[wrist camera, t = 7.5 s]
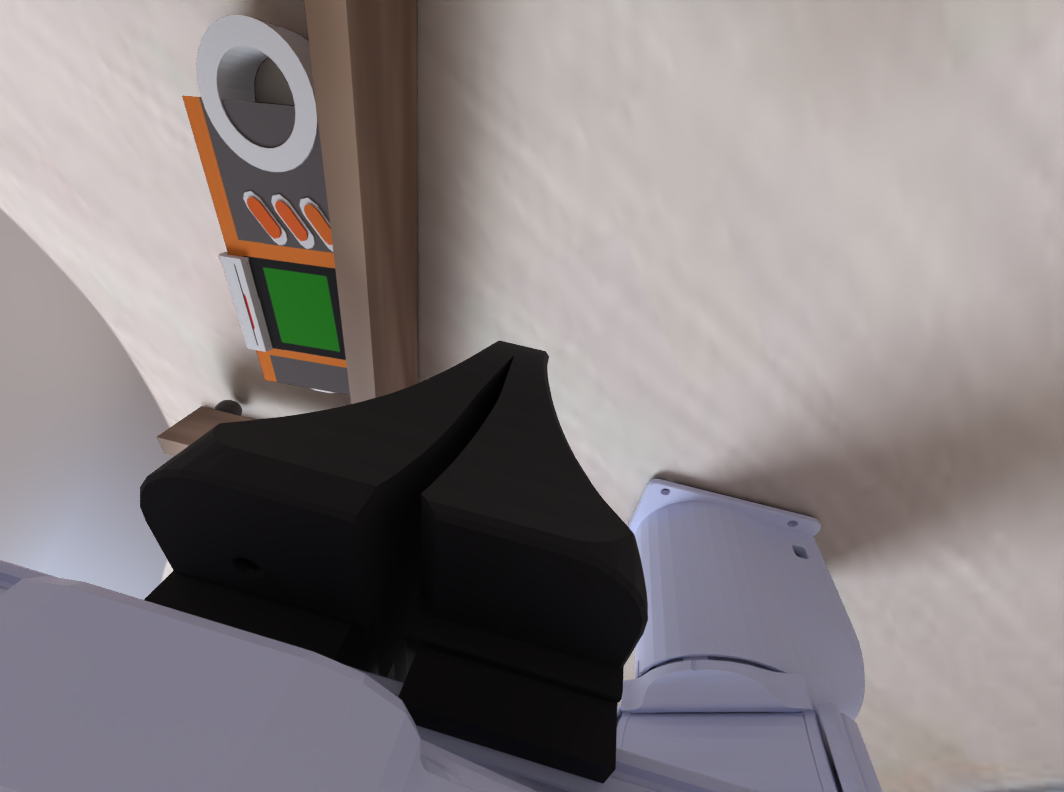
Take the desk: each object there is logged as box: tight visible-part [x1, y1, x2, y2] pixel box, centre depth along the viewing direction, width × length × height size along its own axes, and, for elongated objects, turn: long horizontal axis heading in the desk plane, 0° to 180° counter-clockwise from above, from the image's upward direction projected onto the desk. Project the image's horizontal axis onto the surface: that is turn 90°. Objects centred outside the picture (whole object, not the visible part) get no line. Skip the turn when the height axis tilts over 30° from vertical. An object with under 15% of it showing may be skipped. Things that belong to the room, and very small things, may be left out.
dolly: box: [157, 0, 418, 456], centre depth 19 cm, size 13×23×4 cm, turn 171°
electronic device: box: [182, 15, 350, 395], centre depth 19 cm, size 7×3×15 cm
